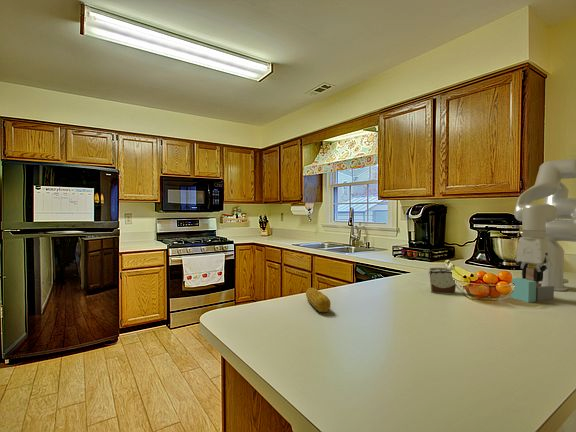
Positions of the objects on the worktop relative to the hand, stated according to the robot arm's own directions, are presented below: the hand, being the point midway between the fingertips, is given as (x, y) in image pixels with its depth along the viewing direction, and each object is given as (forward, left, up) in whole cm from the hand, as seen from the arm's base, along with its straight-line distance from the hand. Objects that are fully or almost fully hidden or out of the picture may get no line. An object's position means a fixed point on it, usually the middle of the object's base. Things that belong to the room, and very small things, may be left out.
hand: (532, 279), depth 129 cm
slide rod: (+2, 0, -4) cm, 5 cm away
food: (+88, -15, -8) cm, 90 cm away
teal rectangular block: (+5, 0, -8) cm, 9 cm away
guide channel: (-4, 0, -8) cm, 9 cm away
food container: (+28, -19, -8) cm, 35 cm away
